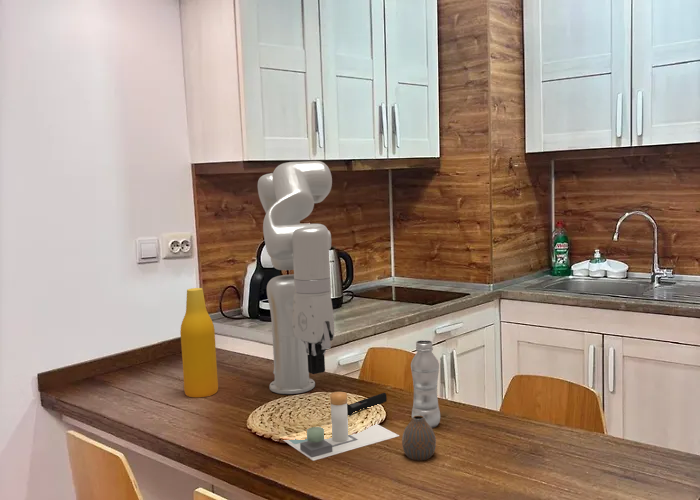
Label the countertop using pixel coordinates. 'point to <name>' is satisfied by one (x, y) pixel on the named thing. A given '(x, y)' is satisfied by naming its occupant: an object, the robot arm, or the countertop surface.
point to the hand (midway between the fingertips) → (316, 372)
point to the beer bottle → (198, 347)
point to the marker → (339, 416)
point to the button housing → (316, 448)
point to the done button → (315, 434)
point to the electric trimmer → (366, 403)
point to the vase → (418, 439)
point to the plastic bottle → (425, 383)
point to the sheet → (350, 441)
